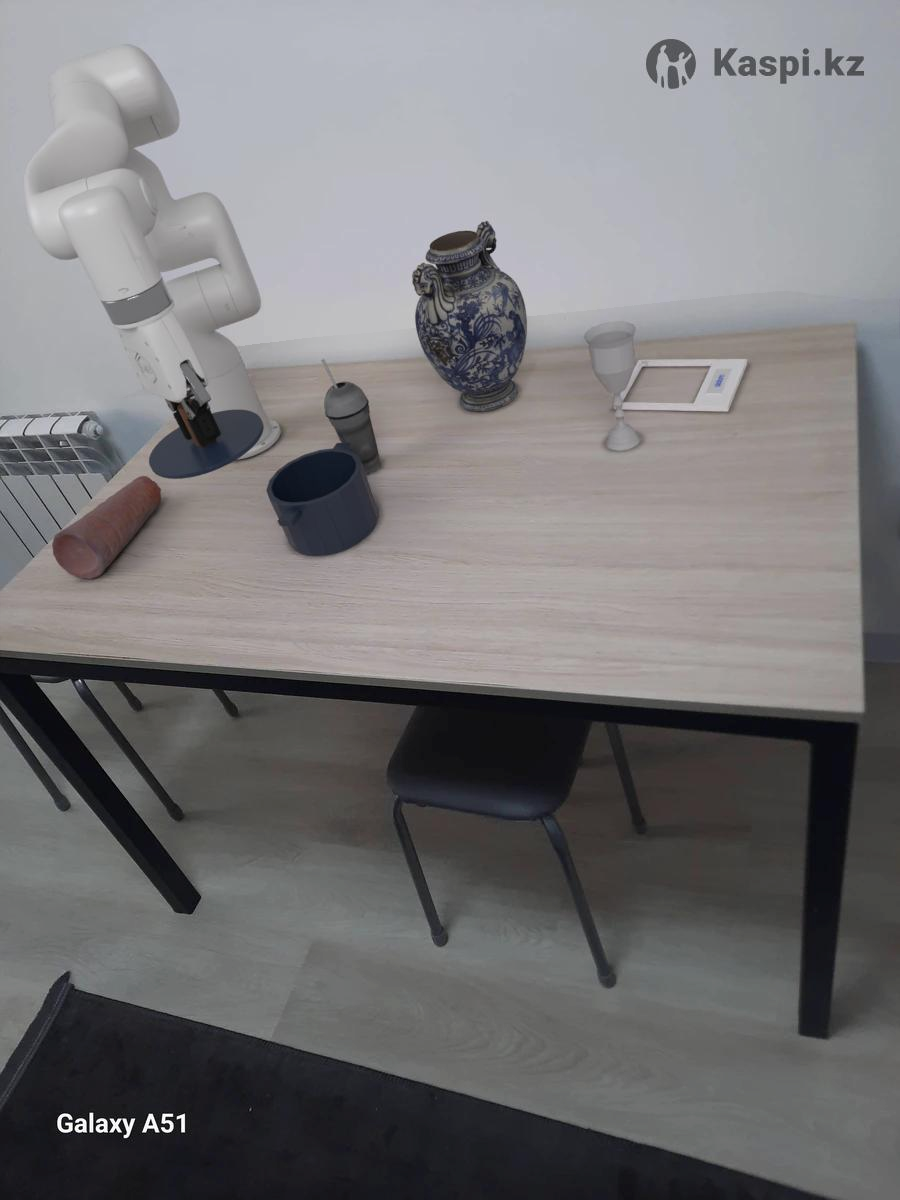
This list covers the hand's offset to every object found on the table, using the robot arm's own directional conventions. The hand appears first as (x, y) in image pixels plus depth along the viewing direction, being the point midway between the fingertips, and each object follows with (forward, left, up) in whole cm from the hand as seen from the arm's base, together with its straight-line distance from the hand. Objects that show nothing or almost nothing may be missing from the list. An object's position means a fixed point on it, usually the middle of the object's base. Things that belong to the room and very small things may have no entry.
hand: (203, 436), depth 112 cm
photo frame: (+25, +68, -24) cm, 77 cm away
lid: (0, 0, -1) cm, 1 cm away
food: (-33, -8, -24) cm, 41 cm away
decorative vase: (-5, +53, -24) cm, 59 cm away
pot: (-1, +13, -24) cm, 28 cm away
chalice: (+26, +51, -24) cm, 62 cm away
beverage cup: (-9, +27, -24) cm, 37 cm away
